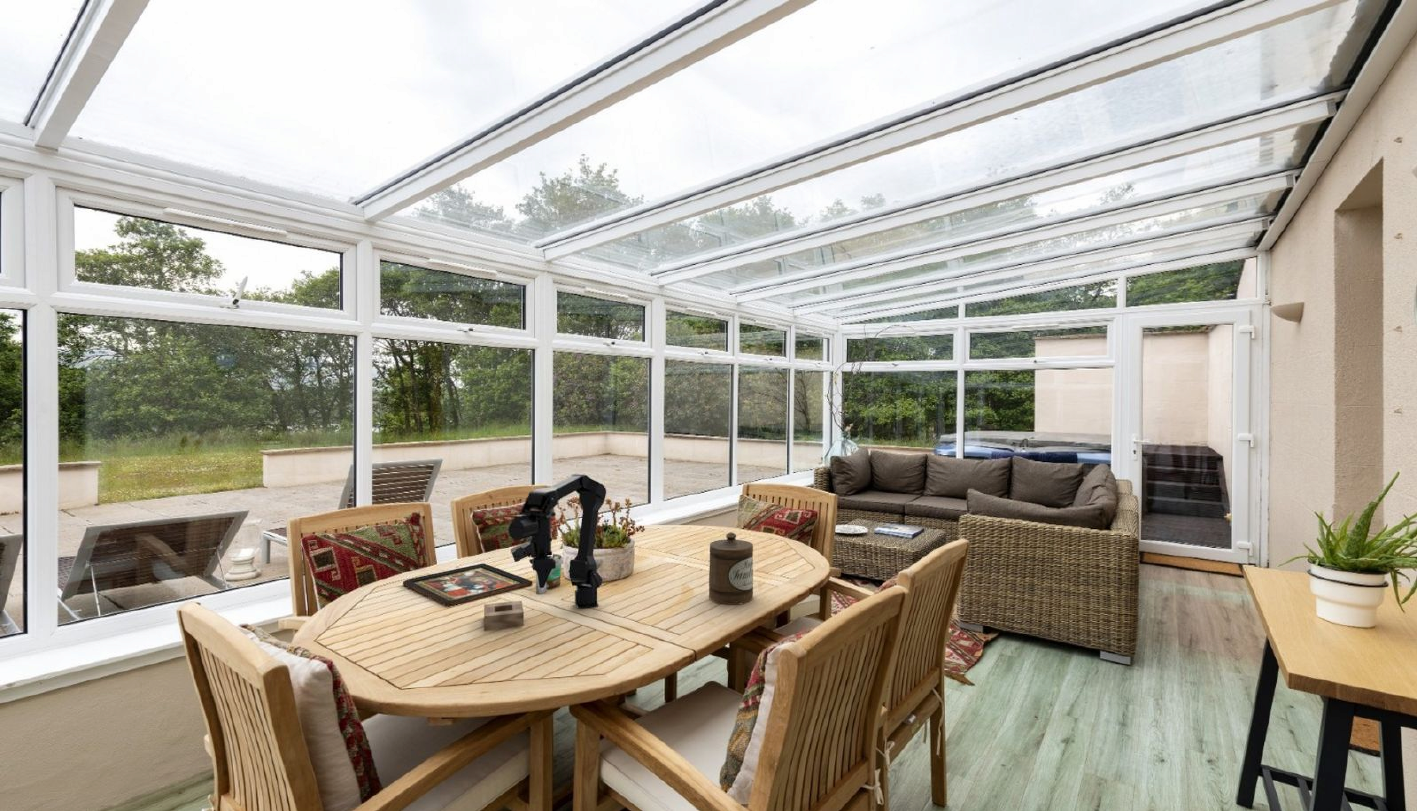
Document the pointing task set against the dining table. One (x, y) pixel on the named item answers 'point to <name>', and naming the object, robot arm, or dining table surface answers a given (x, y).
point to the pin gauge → (539, 590)
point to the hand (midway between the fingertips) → (541, 586)
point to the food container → (555, 573)
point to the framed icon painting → (466, 584)
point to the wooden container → (731, 571)
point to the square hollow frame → (503, 615)
